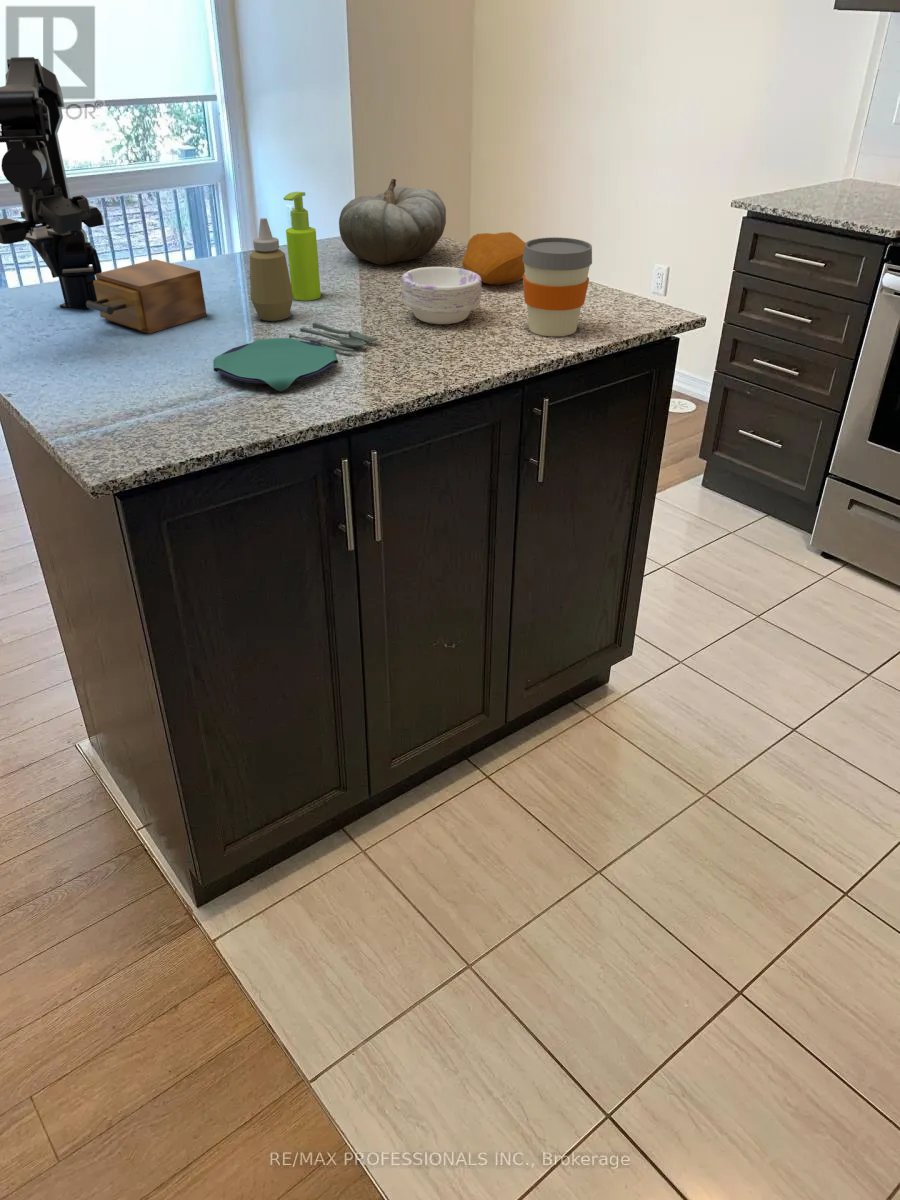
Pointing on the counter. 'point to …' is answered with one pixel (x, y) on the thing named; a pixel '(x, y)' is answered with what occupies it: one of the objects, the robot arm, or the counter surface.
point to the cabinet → (162, 292)
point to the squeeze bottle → (269, 277)
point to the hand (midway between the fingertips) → (58, 276)
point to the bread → (495, 257)
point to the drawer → (118, 304)
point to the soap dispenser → (302, 252)
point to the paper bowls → (441, 293)
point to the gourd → (393, 224)
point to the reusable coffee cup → (555, 283)
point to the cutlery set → (285, 357)
